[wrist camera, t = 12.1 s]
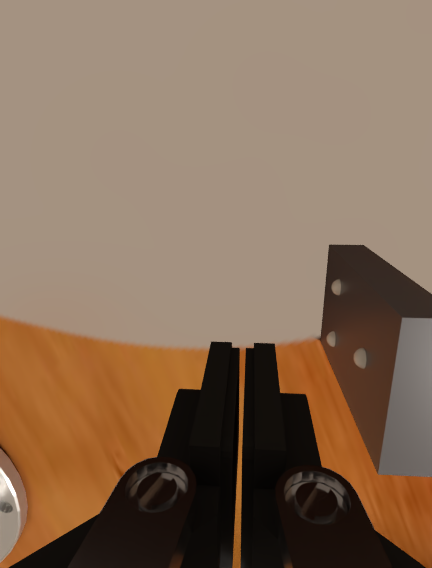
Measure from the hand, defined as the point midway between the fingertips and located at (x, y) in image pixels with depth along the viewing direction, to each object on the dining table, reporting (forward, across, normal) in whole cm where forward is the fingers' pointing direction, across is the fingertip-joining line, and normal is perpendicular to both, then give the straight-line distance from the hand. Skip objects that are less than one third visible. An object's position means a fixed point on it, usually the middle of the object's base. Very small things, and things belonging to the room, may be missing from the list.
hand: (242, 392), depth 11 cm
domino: (+10, -5, +1) cm, 11 cm away
